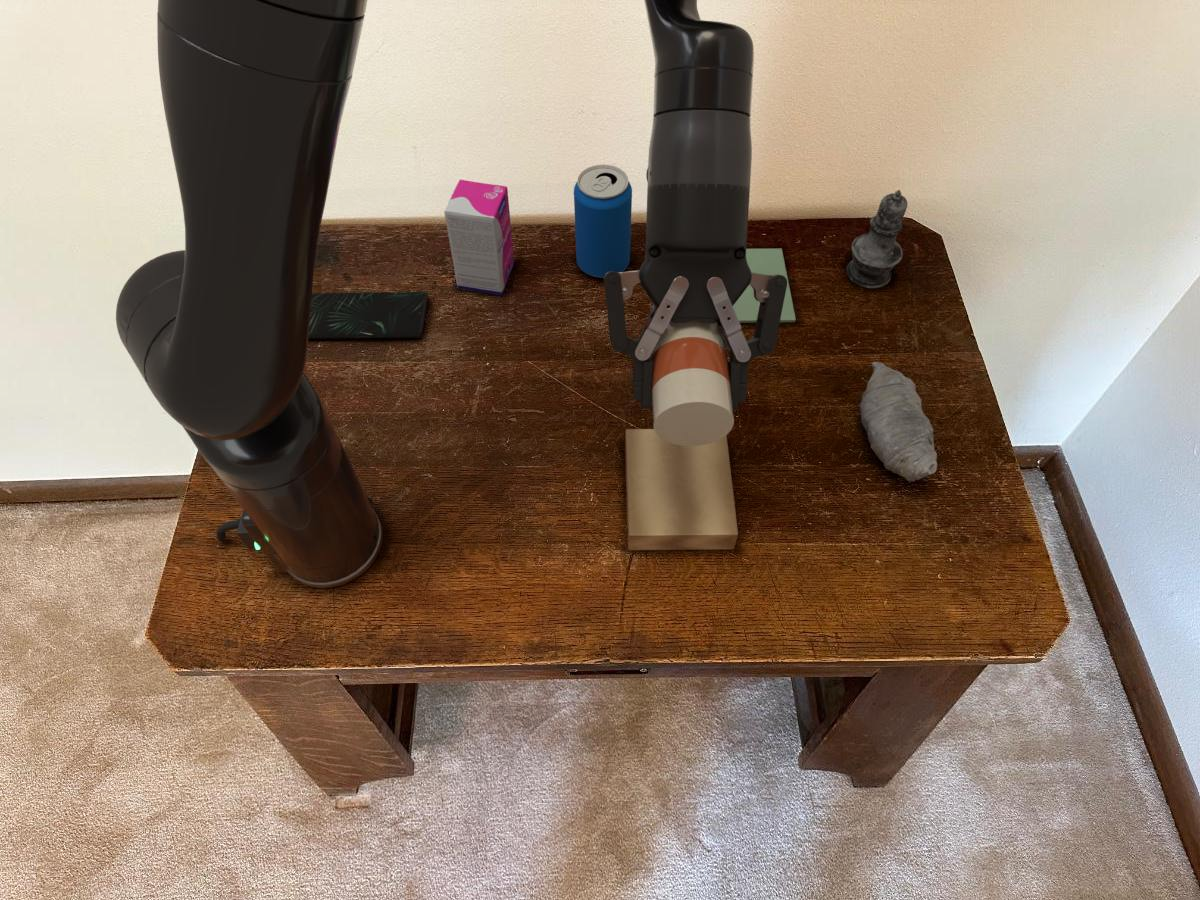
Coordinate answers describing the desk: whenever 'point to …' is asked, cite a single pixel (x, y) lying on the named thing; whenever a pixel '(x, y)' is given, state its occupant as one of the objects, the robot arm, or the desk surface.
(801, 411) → the desk surface
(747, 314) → the mat
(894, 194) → the grey tiered tall piece
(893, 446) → the grey oval lump
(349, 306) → the smartphone
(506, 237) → the supplement box
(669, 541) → the stand
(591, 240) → the beverage can
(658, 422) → the jar
